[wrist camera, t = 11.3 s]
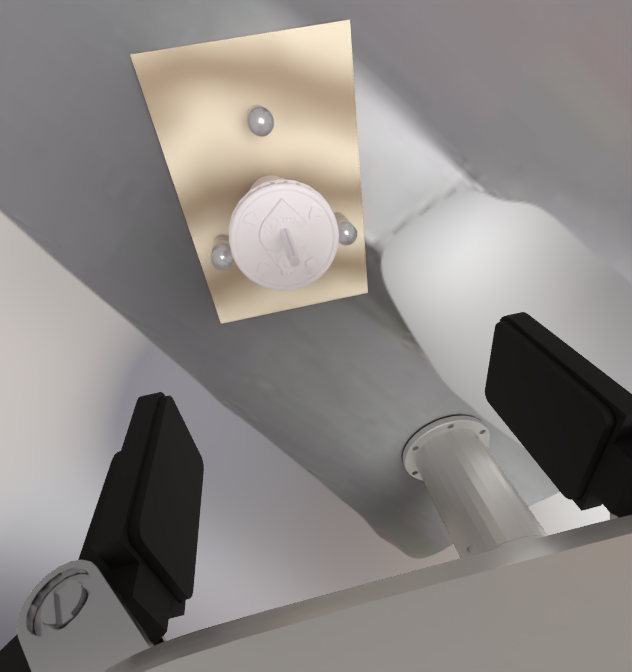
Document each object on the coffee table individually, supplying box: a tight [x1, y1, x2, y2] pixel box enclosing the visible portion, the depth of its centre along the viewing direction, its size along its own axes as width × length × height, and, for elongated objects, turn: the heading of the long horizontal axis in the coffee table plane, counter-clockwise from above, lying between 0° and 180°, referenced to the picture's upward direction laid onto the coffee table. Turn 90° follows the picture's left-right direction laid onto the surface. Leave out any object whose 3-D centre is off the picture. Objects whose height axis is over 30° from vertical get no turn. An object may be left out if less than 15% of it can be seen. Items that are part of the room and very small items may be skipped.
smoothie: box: [229, 175, 339, 291], centre depth 24 cm, size 6×6×14 cm
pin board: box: [130, 20, 368, 324], centre depth 28 cm, size 20×14×5 cm
